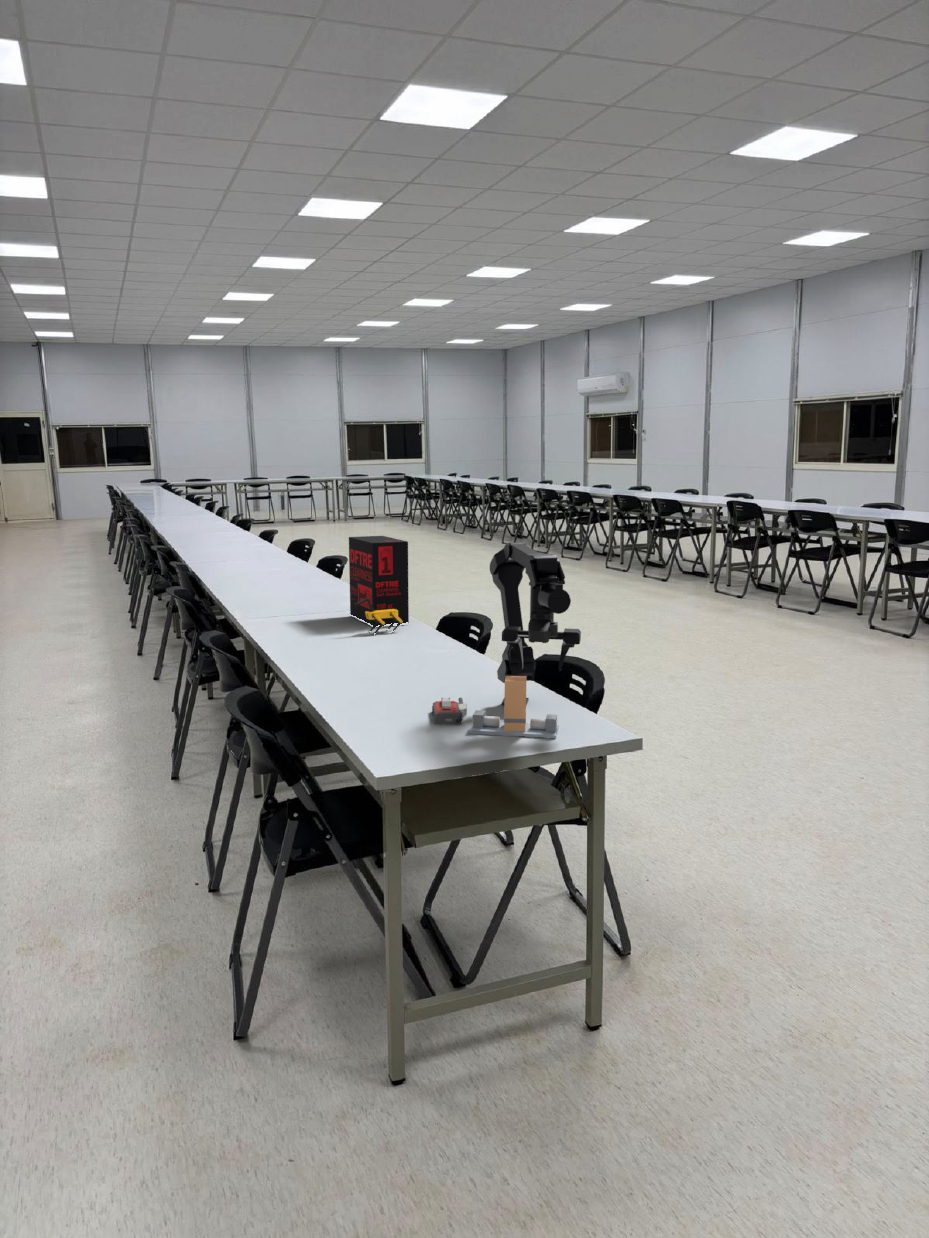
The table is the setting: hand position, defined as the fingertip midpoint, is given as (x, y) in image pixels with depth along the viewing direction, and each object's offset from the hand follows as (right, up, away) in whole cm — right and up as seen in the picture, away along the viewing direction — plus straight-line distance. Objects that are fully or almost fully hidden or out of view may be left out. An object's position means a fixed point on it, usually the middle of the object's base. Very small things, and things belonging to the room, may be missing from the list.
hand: (540, 669), depth 215 cm
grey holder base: (-7, -14, -5) cm, 17 cm away
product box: (-52, +12, +132) cm, 142 cm away
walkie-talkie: (-22, -12, +9) cm, 27 cm away
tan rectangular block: (-7, -13, -6) cm, 16 cm away
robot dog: (-50, +7, +108) cm, 119 cm away
